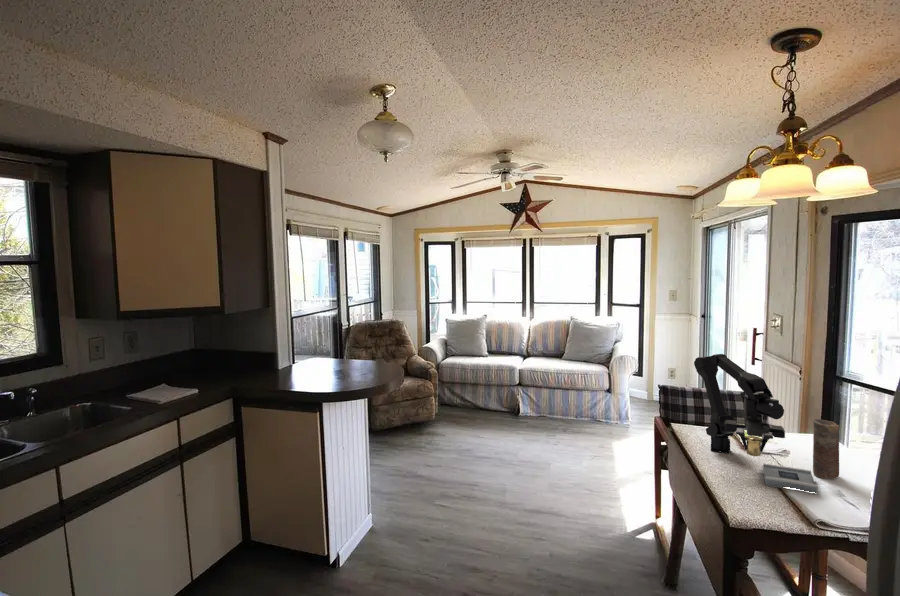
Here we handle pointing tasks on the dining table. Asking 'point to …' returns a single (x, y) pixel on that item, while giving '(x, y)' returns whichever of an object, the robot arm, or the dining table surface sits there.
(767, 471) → the jig
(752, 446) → the gold flared round piece
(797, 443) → the dining table surface
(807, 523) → the dining table surface
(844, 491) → the dining table surface
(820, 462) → the candle
